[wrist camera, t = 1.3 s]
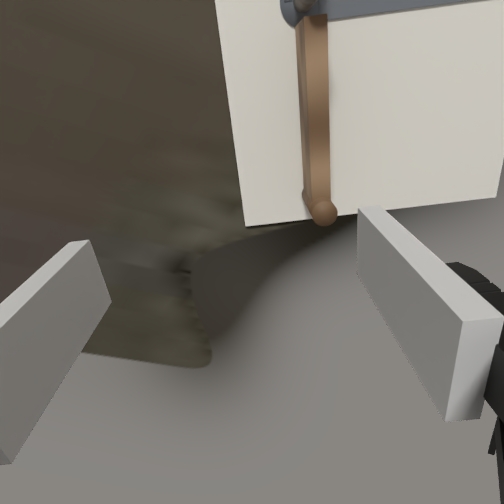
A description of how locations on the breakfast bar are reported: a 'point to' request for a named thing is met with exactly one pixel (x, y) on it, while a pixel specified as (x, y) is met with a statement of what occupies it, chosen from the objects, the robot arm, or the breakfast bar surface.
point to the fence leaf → (315, 116)
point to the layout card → (368, 102)
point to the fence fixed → (303, 5)
